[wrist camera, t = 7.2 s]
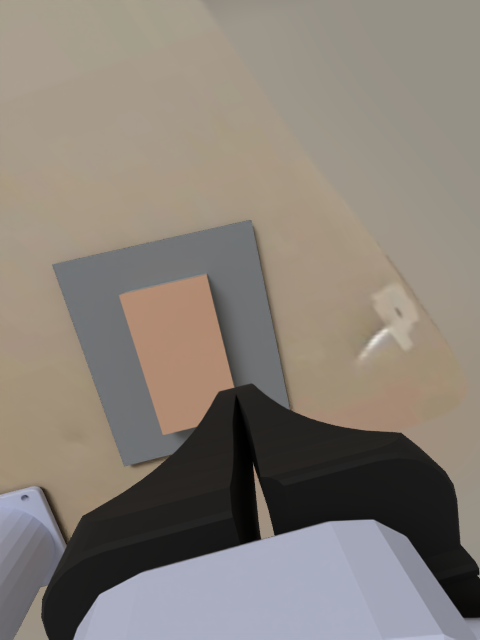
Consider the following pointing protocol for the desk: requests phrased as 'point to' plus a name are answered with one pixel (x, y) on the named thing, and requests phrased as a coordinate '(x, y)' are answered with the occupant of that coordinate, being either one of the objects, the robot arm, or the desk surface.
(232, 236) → the mat
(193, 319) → the tan wooden block
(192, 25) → the desk surface
